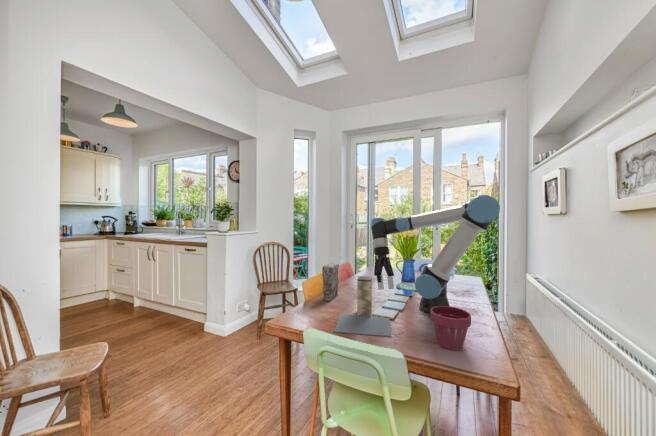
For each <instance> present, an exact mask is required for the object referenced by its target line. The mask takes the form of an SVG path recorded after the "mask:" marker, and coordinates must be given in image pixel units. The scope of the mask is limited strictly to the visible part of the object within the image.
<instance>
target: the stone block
mask: <svg viewBox="0 0 656 436" xmlns="http://www.w3.org/2000/svg"><path fill="white" fill-rule="evenodd" d="M339 267H340V265H339V263H334V262H329V263H326V264H325V265H323V266H322V271H321V272H322V273H321V274H322V285H323V286H322V291H323V300H324V301H328V302H332V301H334V300H335V298H336V297H337V296H338V290H339V289H338V288H339V270H340V269H339Z"/></svg>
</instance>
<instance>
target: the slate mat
mask: <svg viewBox="0 0 656 436" xmlns="http://www.w3.org/2000/svg"><path fill="white" fill-rule="evenodd" d="M384 317H385V316H380V317H378V316H377V315H372V316H365V315H357V314H349V313H348V314H347V313H339V316H338V319H337V321H336V324H335V327H334V330H333V333H337V334H338V333H339V334H352V335H362V336H364V335H365V336H373V337H374V336H375V337H384V338H392V337H393V336H392V328H391V321H390V317H389V318H384Z"/></svg>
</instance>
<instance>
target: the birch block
mask: <svg viewBox="0 0 656 436" xmlns="http://www.w3.org/2000/svg"><path fill="white" fill-rule="evenodd" d="M356 284H357V286H356V288H357V291H356V293H357V295H356V297H357V298H356V299H357V303H356V305H357V308H356V309H357V310H356V315H365V316H373V310H372V309H373V308H372V307H373V305H372V304H373V301H372V300H373V277H372V276H367V275H362V276H361V275H358V276H357V281H356Z"/></svg>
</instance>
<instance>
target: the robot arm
mask: <svg viewBox="0 0 656 436" xmlns="http://www.w3.org/2000/svg"><path fill="white" fill-rule="evenodd" d="M500 210H501V205H500V203H499V201H498V200H497V199H496V198H495V197H493V196H490V195H488V194H478V195H475V196H474V197H473V198H471V199H470V200H469V201H467V202H463V203H462V204H461V205H458V206H453V207H448V208H443V209H438V210H434V211H428V212H423V213H418V214H413V215H411V216H410V215H409V216H398V217H397V218H391V219H387V220H385V218H384V217H374V218H372V219H371V220H370V229H371V233H372V235H371V236H372V241H373V242H372V245H373V251H374V269H373V274H374V275H373V276H374V277H376V282H377V290H384V289H385V285H384V278H383V275H382V273H383V268H384V270H385V272H386V275H387V276H386V279H387V286H388V290H394V289H395V284H394V277H395V273H394V270H393V266H392V263H391V260H390V257H389V256H388V257H387V255H390V249H389V239H388V236H389V235H392V234H393V235H394V234H398V233H399V234H400V233H405V232H408V231H412V230H413V231H414V230H419V229H425V228H431V227H436V226H442V225H446V224H452V223H458V222H460V223H459V224H458V226H457V227H456V229H455V230H454V231H453V232H452V234H451V236H450V237H449V239H448V240H447V242H446V243H445V245H444V246H443V247H442V249H441V251H440V252H439V253H438V255H437V256H436V257H435V259H434V260H433V262H432V263H428V264H425V265H423V267H422V272H421V273H420V275H418V276H417V277H416V279H415V281H414V287H415V290H416V292H417V294H418V295H419V296H420V297H421V298H420V301H419V306H418V307H419V310H421V311H422V312H425V313H428V314H431V308H433V307H435V306H450V303H449V299H448V295H447V294H448V293H447V292H448V291H447V289H448V288H447V287H448V283H449V281H451V278H450V274H451V273H452V271H453V270H454V269H455V267H456V265H457V264H458V263H459V262H460V260H461V259H462V257H463V256H464V255H465V253H466V252H467V250H468V249H469V248H470V246H471V245H472V244H473V242H474V241H475V240H476V238H478V237H477V236H479V233H481V232H486V231H487V229H488V228H489V227H490V225H491V224H492V223H493V221H494V220H495V219H496V218H497V217H498V216H499V214H500ZM450 307H451V306H450Z"/></svg>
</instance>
